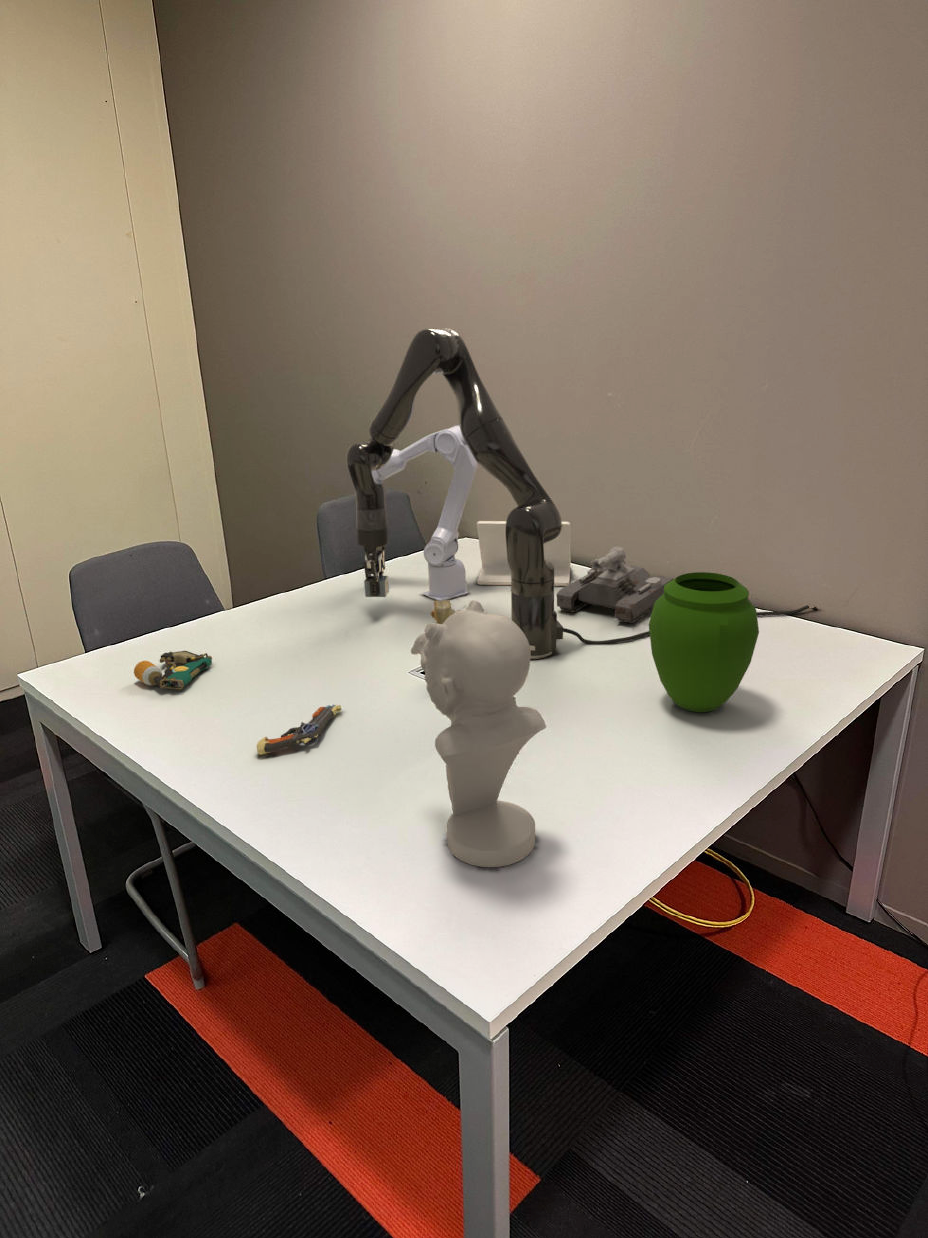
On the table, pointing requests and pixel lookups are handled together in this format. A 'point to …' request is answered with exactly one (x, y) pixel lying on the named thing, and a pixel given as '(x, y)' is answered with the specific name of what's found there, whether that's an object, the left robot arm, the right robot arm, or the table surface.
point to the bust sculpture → (481, 729)
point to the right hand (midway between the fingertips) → (377, 592)
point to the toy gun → (299, 731)
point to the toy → (614, 588)
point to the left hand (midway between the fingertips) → (375, 558)
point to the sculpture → (441, 611)
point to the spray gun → (172, 669)
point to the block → (382, 587)
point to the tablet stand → (496, 554)
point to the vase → (702, 638)
